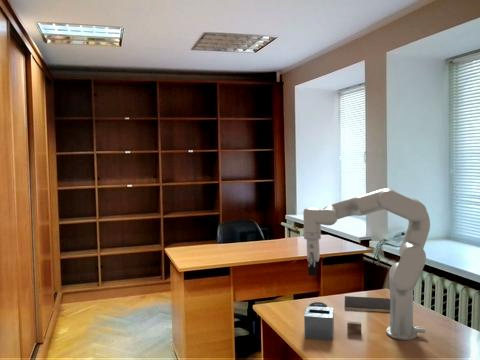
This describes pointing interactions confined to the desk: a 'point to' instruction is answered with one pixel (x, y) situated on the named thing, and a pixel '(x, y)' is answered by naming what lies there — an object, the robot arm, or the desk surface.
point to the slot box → (319, 323)
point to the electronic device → (318, 304)
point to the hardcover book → (367, 304)
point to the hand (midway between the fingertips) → (313, 272)
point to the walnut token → (354, 328)
